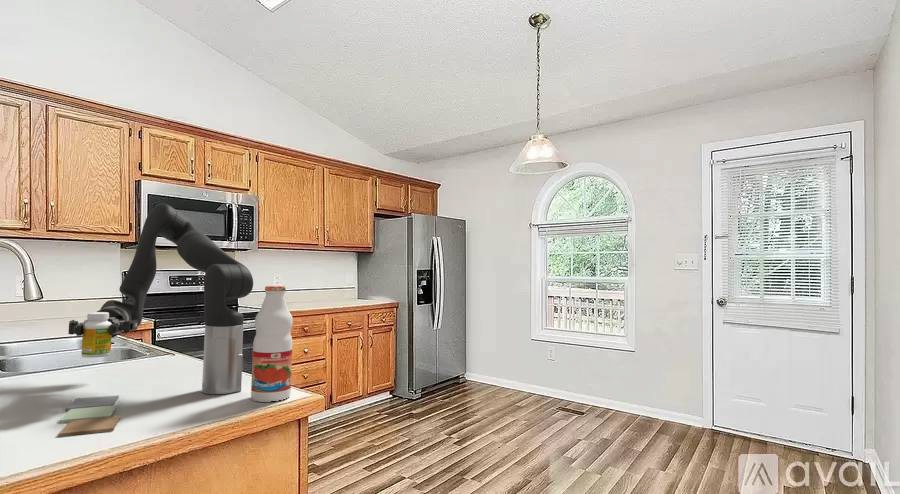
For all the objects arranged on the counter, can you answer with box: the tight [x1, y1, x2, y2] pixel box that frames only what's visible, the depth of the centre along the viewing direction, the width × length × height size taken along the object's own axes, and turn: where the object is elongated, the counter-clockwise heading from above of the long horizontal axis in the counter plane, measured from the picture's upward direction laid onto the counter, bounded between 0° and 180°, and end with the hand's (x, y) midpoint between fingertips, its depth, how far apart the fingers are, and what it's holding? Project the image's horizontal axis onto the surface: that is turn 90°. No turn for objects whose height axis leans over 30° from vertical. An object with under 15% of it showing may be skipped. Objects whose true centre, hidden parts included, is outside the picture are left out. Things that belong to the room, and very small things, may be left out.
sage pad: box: [59, 404, 118, 424], centre depth 104 cm, size 8×8×1 cm
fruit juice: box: [250, 285, 294, 403], centre depth 121 cm, size 9×9×28 cm
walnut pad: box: [58, 415, 121, 438], centre depth 96 cm, size 8×8×1 cm
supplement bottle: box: [80, 311, 113, 359], centre depth 110 cm, size 5×5×10 cm
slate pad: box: [65, 394, 120, 412], centre depth 112 cm, size 8×8×1 cm
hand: (95, 330), depth 107 cm, fingers closed on supplement bottle, 5 cm apart
